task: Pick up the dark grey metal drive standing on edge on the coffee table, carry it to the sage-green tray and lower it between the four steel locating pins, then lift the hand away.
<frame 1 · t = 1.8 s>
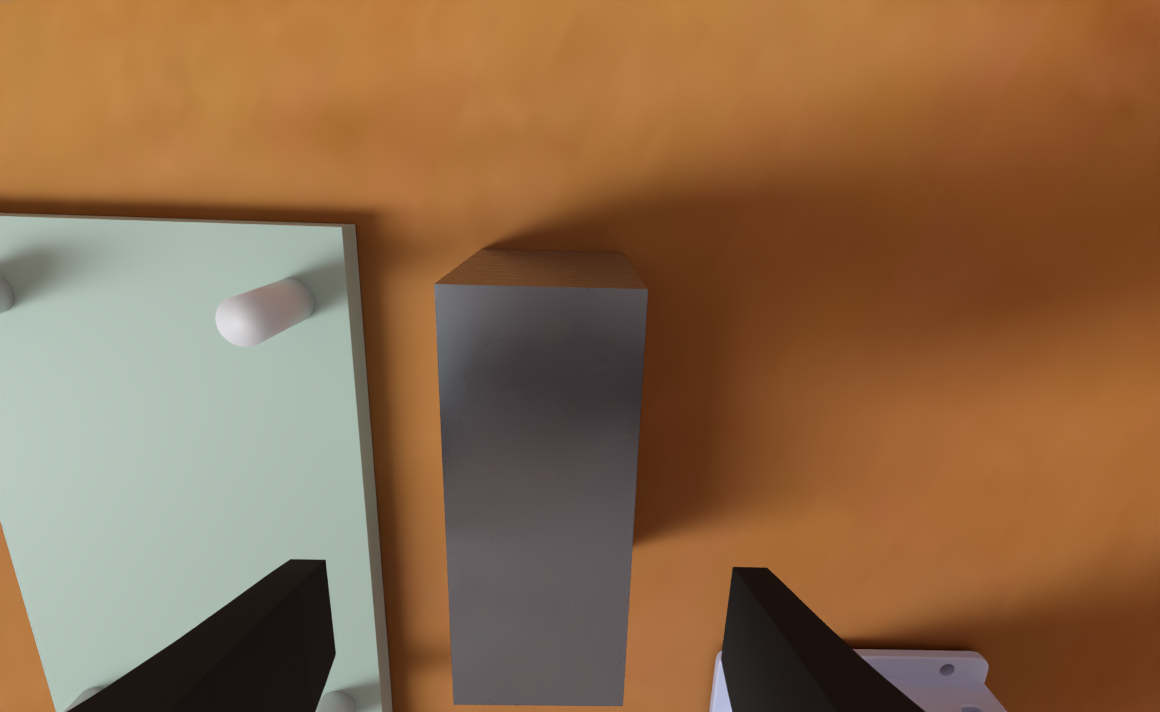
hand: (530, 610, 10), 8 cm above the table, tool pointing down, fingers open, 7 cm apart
drive: (550, 412, 18), on the table
pin tray: (204, 505, 19), on the table
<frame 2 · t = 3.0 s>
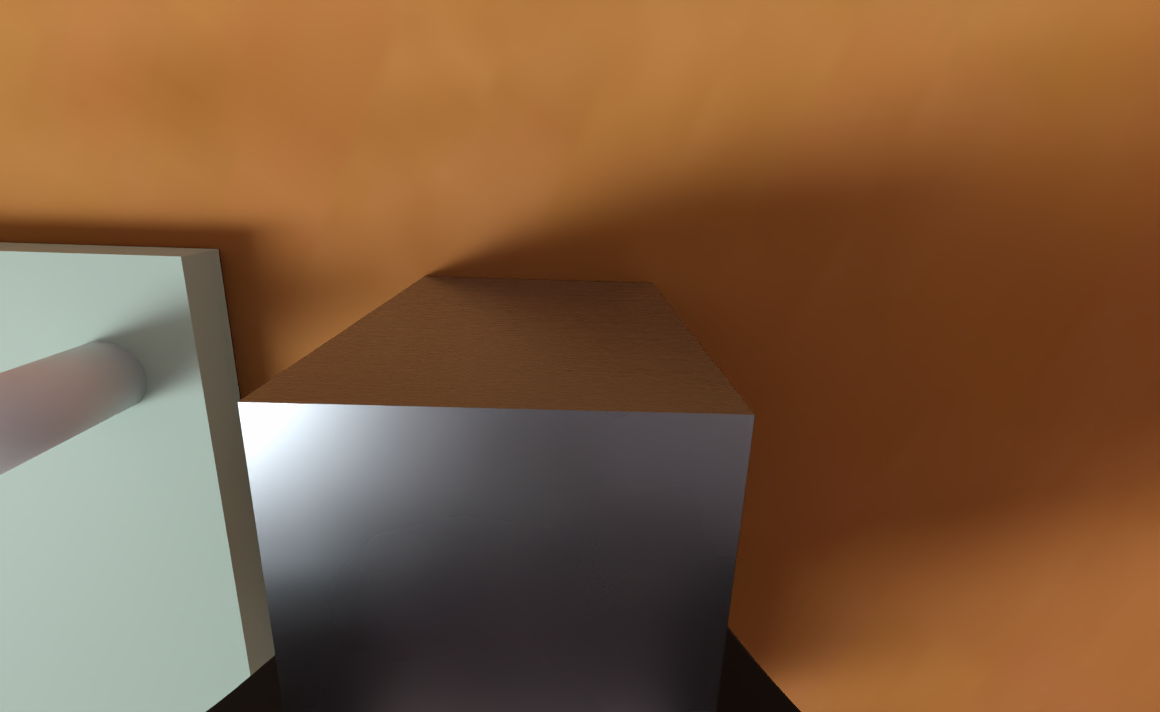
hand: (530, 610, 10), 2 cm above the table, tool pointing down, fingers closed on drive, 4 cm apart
drive: (535, 526, 12), on the table, touching gripper
pin tray: (20, 665, 12), on the table
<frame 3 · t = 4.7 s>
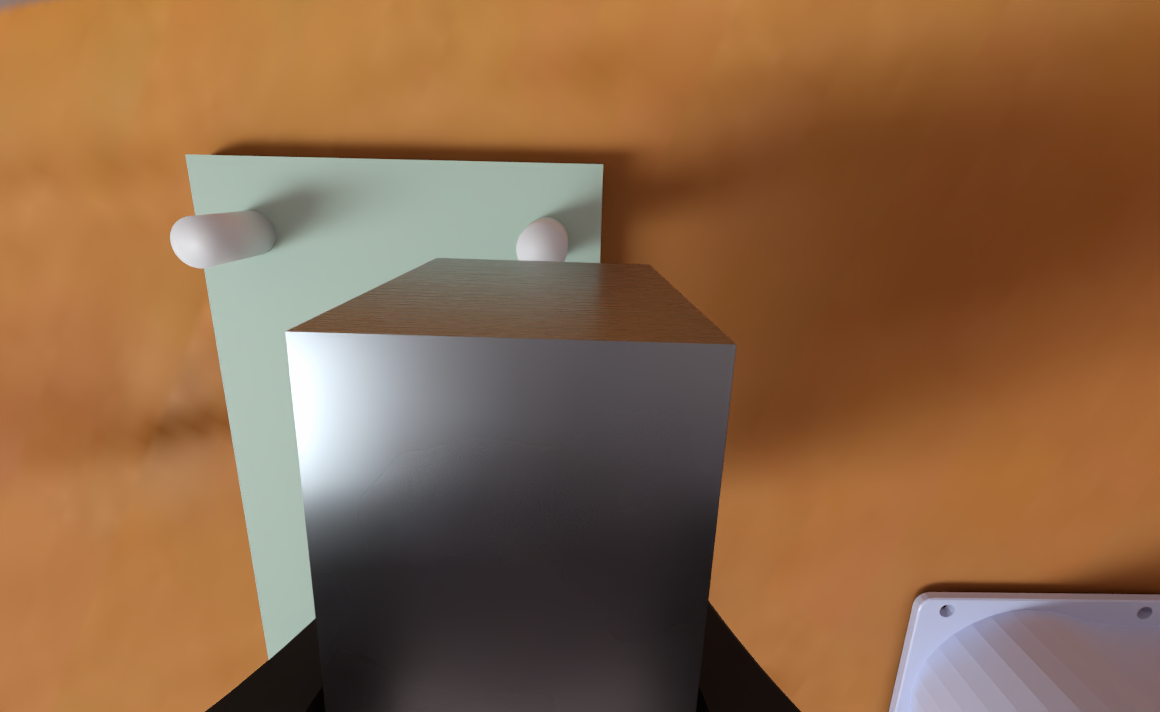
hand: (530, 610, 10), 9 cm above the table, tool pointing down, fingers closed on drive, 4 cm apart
drive: (539, 499, 12), point 6 cm above the table, touching gripper
pin tray: (423, 451, 19), on the table
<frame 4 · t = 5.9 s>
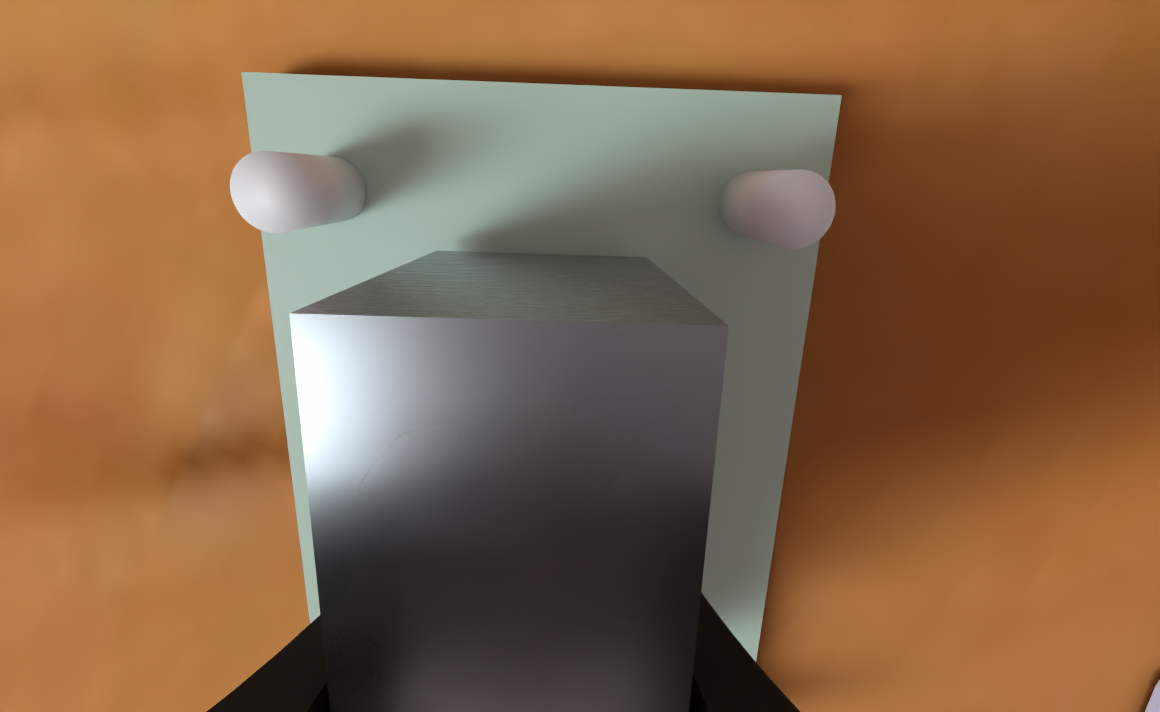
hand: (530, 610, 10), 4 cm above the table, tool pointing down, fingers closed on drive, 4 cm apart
drive: (538, 490, 12), point 2 cm above the table, touching gripper
pin tray: (541, 491, 14), on the table
when the fingers open (4 cm above the table, at t = 6.7 s): drive stays where it is, resting on pin tray.
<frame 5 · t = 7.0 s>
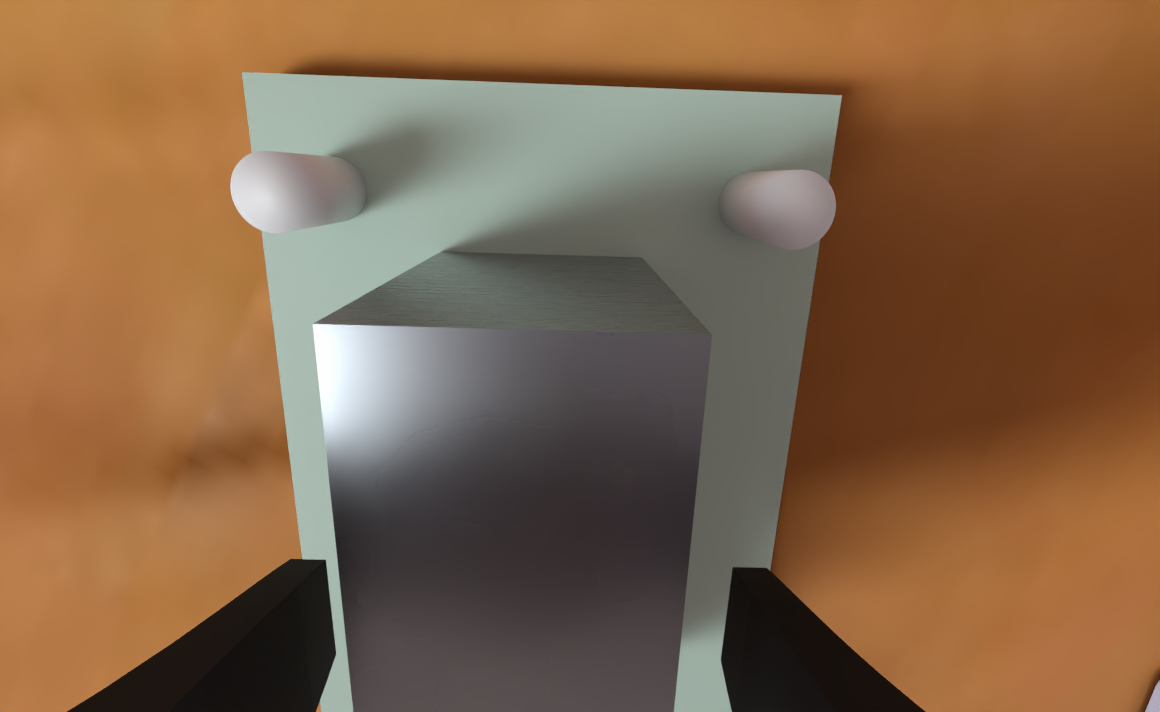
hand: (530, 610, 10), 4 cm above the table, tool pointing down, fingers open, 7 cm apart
drive: (539, 479, 13), point 1 cm above the table, touching pin tray
pin tray: (541, 491, 14), on the table
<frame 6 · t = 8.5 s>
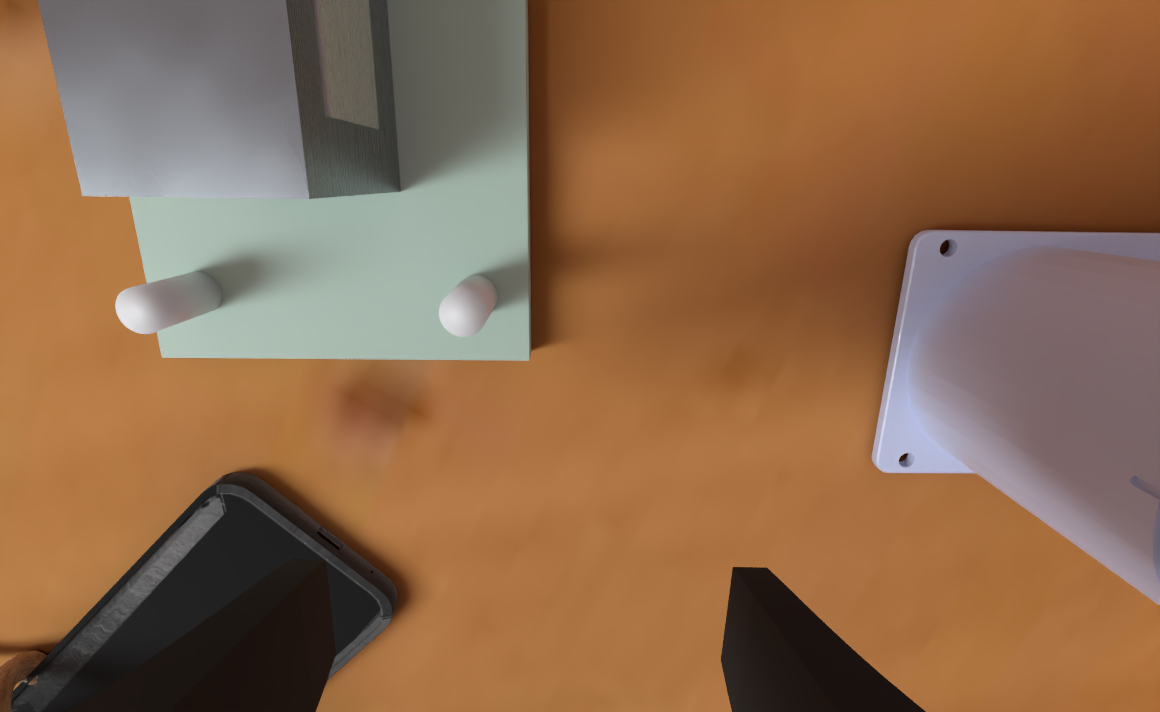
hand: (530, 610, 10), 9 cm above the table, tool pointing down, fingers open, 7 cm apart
phone: (210, 642, 22), on the table
pin tray: (326, 33, 16), on the table
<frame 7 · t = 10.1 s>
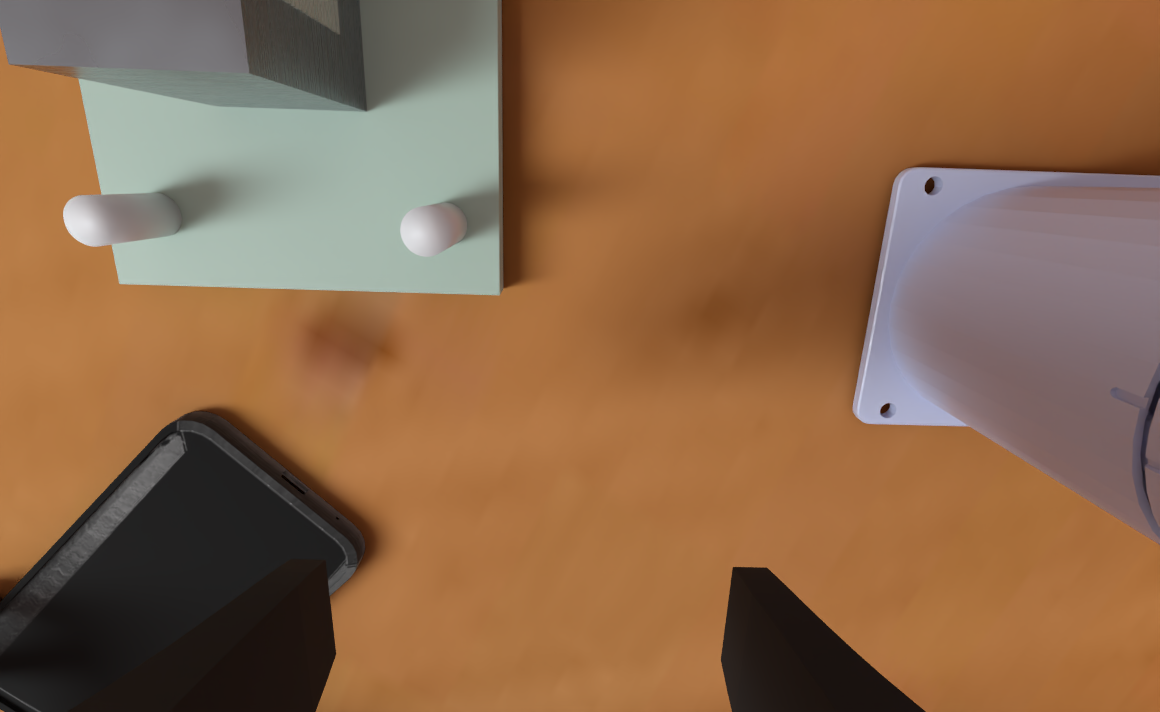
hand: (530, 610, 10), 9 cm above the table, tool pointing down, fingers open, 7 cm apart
phone: (173, 591, 22), on the table
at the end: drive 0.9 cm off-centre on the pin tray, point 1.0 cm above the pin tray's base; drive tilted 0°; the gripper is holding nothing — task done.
